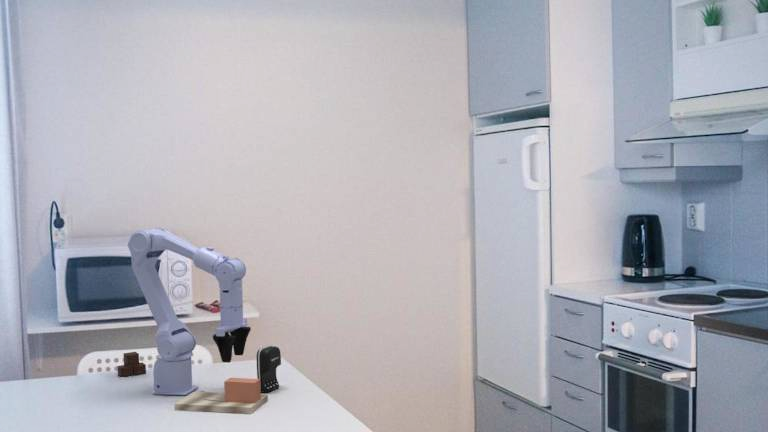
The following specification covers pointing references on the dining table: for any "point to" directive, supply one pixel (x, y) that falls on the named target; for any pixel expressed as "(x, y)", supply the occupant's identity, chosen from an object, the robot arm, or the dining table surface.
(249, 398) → the block
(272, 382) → the battery charger
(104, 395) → the dining table surface
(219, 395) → the board
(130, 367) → the stack of crates
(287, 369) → the dining table surface
